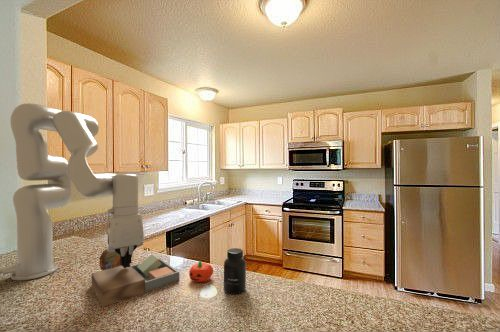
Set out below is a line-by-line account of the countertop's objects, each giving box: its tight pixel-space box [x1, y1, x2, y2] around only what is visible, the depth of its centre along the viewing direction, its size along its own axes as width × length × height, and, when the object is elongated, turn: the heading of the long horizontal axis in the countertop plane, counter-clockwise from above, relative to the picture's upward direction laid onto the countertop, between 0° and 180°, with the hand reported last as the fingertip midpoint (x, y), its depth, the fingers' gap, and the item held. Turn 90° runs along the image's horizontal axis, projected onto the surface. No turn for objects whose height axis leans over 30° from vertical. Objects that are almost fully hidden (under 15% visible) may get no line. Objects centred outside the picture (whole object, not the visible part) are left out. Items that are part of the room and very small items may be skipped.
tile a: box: [149, 267, 174, 280], centre depth 80 cm, size 6×6×2 cm
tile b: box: [137, 254, 161, 277], centre depth 85 cm, size 6×6×2 cm
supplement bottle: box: [223, 247, 247, 295], centre depth 74 cm, size 7×7×12 cm
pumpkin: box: [188, 260, 214, 283], centre depth 81 cm, size 7×8×6 cm
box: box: [131, 258, 180, 293], centre depth 82 cm, size 11×16×3 cm
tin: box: [99, 247, 134, 271], centre depth 92 cm, size 15×3×8 cm, turn 169°
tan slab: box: [91, 265, 146, 308], centre depth 75 cm, size 11×16×4 cm
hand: (125, 266), depth 80 cm, fingers closed
